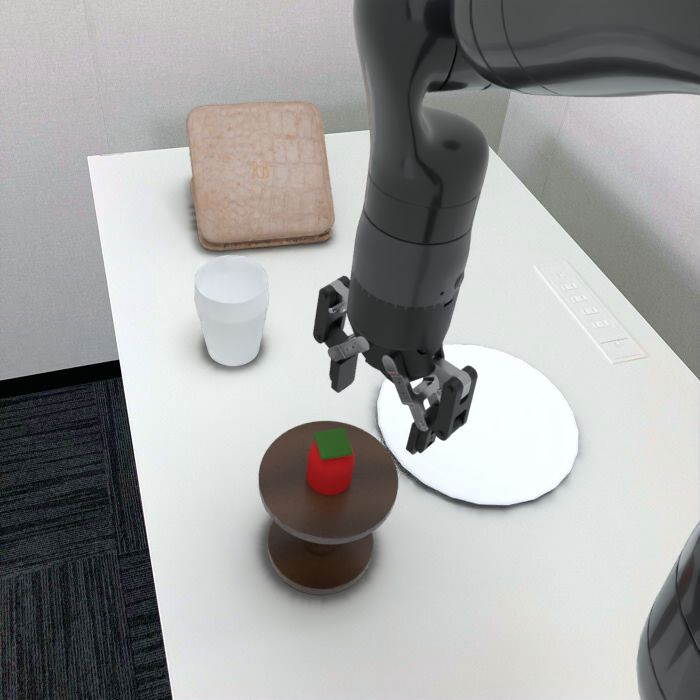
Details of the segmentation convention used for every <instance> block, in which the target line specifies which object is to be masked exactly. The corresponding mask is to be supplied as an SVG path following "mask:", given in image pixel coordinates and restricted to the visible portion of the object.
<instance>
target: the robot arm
mask: <svg viewBox="0 0 700 700" xmlns="http://www.w3.org/2000/svg"><path fill="white" fill-rule="evenodd" d="M352 21H353V29H354V38H355V44H356V49H357V55H358V59H359V63H360V68H361V74H362V79H363V85H364V90H365V91H364V92H365V98H366V107H367V114H368V129H369V160H368V165H367V166H368V169H367V175H366V183H365V191H364V198H363V199H364V200H363V205H362V209H361V213H360V216H359V220H358V223H357V227H356V232H355V237H354V246H353V253H352V260H351V261H352V262H351V270H350V276H349V277H350V278H349V277H348V276H347V275H342V276H340V277H338V278H337V279H335V280H333V281H331V282H330V283H327V284H326V285H325V286H323V287H322V288H320V289H319V290H318V295H317V296H318V297H317V303H316V310H315V315H314V322H313V328H312V329H313V330H312V331H313V332H312V336H313V339H314V341H316V342H317V344H320V345H321V344H323V343H324V344H325V346H326V347H327V348H328V349H327V355H328V357H329V358H330V362H329V372H328V376H329V381H331V382H330V383H331V384H330V388H331V389H332V390H333V391H334V392H336V393H337V394H340V393H341V392H343V391H344V390H345V389H347V388H348V387H349V386H351V385H352V384H353V383H354V381H355V378H356V373H357V366H358V365H357V364H358V360H359V354H361V355H362V356H363V357H364V359H365V360H364V362H365V363H366V364H367V365H369V366H370V367H372V368H373V369H375V370H377V371H378V372H380V373H381V374H382V375H383V376H384V377H385V379H386V378H387V379H388V380H390V381H391V382H392V383H393V384H394V385H395V387H396V390H397V392H398V395H399V398H400V400H401V403H402V404H403V405H408V406H409V409H410V411H411V414H412V416H413V419H414V422H413V423H412V425H411V429H410V433H409V437H408V441H407V445H406V450H407V451H408V452H410V453H411V454H412V455H414V454H415V453H417V452H419V453H420V454H421V453H422V452H423V451H425V450H426V449H427V448H428V447H429V446H430V445H432V444H433V443H434V442H435V439H436V436H437V437H438V438H439V439H440V440H442V441H445V440H447V439H448V438H449V437H450V436H451V435H452V434H453V433H454V432H455V431H456V430H457V429H459V428H460V427H462V426H463V425H464V424H465V423H466V422H467V419H468V415H469V411H470V407H471V402H472V398H473V394H474V390H475V386H476V382H477V378H478V374H477V372H476V370H475V369H474V368H473V367H472V366H469V365H467V366H465V367H464V368H463V369H461V370H460V369H458V368H457V367H455V366H454V365H452V364H451V363H449V362H448V361H446V360H445V355H444V351H443V345H444V340H445V338H446V336H447V334H448V331H449V329H450V326H451V323H452V320H453V317H454V316H453V315H454V312H455V308H456V305H457V300H458V297H459V293H460V290H461V286H462V283H463V281H464V279H465V270H466V267H467V263H468V260H469V257H470V256H469V255H470V251H471V242H472V232H473V227H474V220H475V216H476V214H477V210H478V205H479V202H480V199H481V194H482V190H483V186H484V184H485V178H486V175H487V171H488V166H489V160H490V144H489V140H488V138H487V136H486V133H485V132H484V131H483V129H482V128H481V127H480V125H478V124H477V123H476V122H474V121H473V120H471V119H469V118H468V117H467V116H464V115H462V114H459V113H457V112H455V111H451V110H448V109H443V108H440V107H436V106H431V105H427V104H423V102H424V99H425V96H426V94H429V93H430V94H431V93H452V92H454V93H455V92H470V91H496V90H497V91H498V90H505V91H508V92H513V93H517V94H521V95H530V96H545V97H546V96H548V97H569V98H570V97H571V98H573V97H574V98H634V97H648V96H658V95H692V96H693V95H694V96H700V0H353V3H352ZM346 320H348V322H349V325H350V327H351V330H352V333H351V334H349V335H348V334H347V333H346V332H345V331H344V329H345V325H346ZM421 378H423V380H422V382H421V383H420V384H418V385H417V386H416V387H414V388H413V389H412V386H411V384H410V382H412V381H415V380H418V379H421ZM426 398H427V399H428V402H429V405H430V407H429V408H427V409H426V410H425V407H424V400H425V399H426ZM636 655H637V656H636V665H635V666H636V667H635V668H636V680H637V690H638V691H637V692H638V695H639V696H638V697H639V700H700V520H699V521H698V523H697V524H696V525H695V527H694V528H693V530H692V531H691V533H690V535H689V536H688V538H687V539H686V542H685V543H684V546H683V548H682V549H681V551H680V553H679V555H678V556H677V558H676V560H675V562H674V563H673V566H672V567H671V570H670V571H669V573H668V575H667V576H666V579H665V581H664V582H663V584H662V586H661V587H660V590H659V592H658V593H657V595H656V597H655V598H654V601H653V603H652V606H651V607H650V610H649V613H648V615H647V617H646V620H645V622H644V625H643V628H642V630H641V633H640V637H639V641H638V648H637V654H636Z"/></svg>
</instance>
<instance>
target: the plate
mask: <svg viewBox="0 0 700 700" xmlns="http://www.w3.org/2000/svg"><path fill="white" fill-rule="evenodd" d="M443 351H444V355H445V360H446V361H448V362H449V363H451V364H452V365H454V366H455V367H457V368H458V369H460V370H461V369H463V368H464V367H465V366H467V365H469V366H472V367H473V368H474V369H475V370H476V372H477V374H478V378H477V382H476V386H475V390H474V394H473V398H472V402H471V407H470V411H469V415H468V419H467V422H466V423H465V424H464V425H463V426H462V427H460V428H459V429H457V430H456V431H455V432H454V433H453V434H452V435H451V436H450V437H449V438H448V439H447V440H445V441H442V440H440V439H439V438H438V437H437V436H436V439H435V442H434V443H433V444H432V445H430V446H429V447H428V448H427V449H426V450H425V451H423V452H422V453H421V454H420V453H419V452H417V453H415V454H414V455H412V454H411V453H410V452H408V451H407V450H406V445H407V441H408V437H409V433H410V429H411V425H412V423H413V422H414V419H413V416H412V414H411V411H410V409H409V406H408V405H403V404H402V403H401V400H400V398H399V395H398V392H397V390H396V387H395V385H394V384H393V383H392V382H391V381H390V380H388V379H387V378H386V377H385V379H384V381H383V382H382V383H381V388H380V391H379V394H378V396H377V397H378V398H377V401H376V412H377V425H378V428H379V430H380V432H381V433H380V434H381V436H382V438H383V441H384V444H385V447H387V450H389V452H390V454H392V455H393V457H394V458H395V459H396V461H397V462H398V464H399V465H400V466H401V467H402V468H403V469H404V470H406V471H407V472H408V473H409V474H411V475H412V476H413V477H414V478H415V479H416V480H418V481H419V482H420V483H421V484H423V485H424V486H426V487H428V488H429V489H432V490H433V491H436V492H438V493H440V494H442V495H444V496H446V497H448V498H450V499H454V500H458V501H461V502H466V503H470V504H473V505H478V506H495V507H497V506H498V507H501V506H502V507H509V506H514V505H519V504H522V503H527V502H532V501H535V500H537V499H538V498H540V497H542V496H544V495H546V494H547V493H549V492H551V491H553V490H555V489H556V488H557V487H558V486H559V485H560V484H561V482H562V481H563V480H565V478H566V477H567V476H568V475H569V474H570V472H571V471H572V468H573V467H574V463H575V461H576V458H577V456H578V453H579V428H578V426H577V422H576V418H575V416H574V412H573V410H572V408H571V407H570V405H569V403H568V401H567V400H566V398H565V397H564V395H563V393H562V392H561V390H559V388H557V386H555V384H554V383H553V382H552V381H551V380H550V379H549V378H548V377H547V376H546V375H544V373H542V372H541V371H539V370H537V369H536V368H535V367H534V366H532V365H530V364H529V363H527V362H525V361H524V360H523V359H521V358H518V357H515V356H513V355H512V354H508V353H506V352H504V351H502V350H499V349H495V348H490V347H486V346H482V345H478V344H460V343H458V344H457V343H449V344H443ZM422 380H423V378H421V379H418V380H415V381H412V382H410V384H411V386H412V389H413V388H414V387H416V386H417V385H418V384H420V383H421V382H422ZM424 407H425V410H426V409H427V408H429V407H430V405H429V402H428V399H427V398H426V399H425V400H424Z"/></svg>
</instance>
